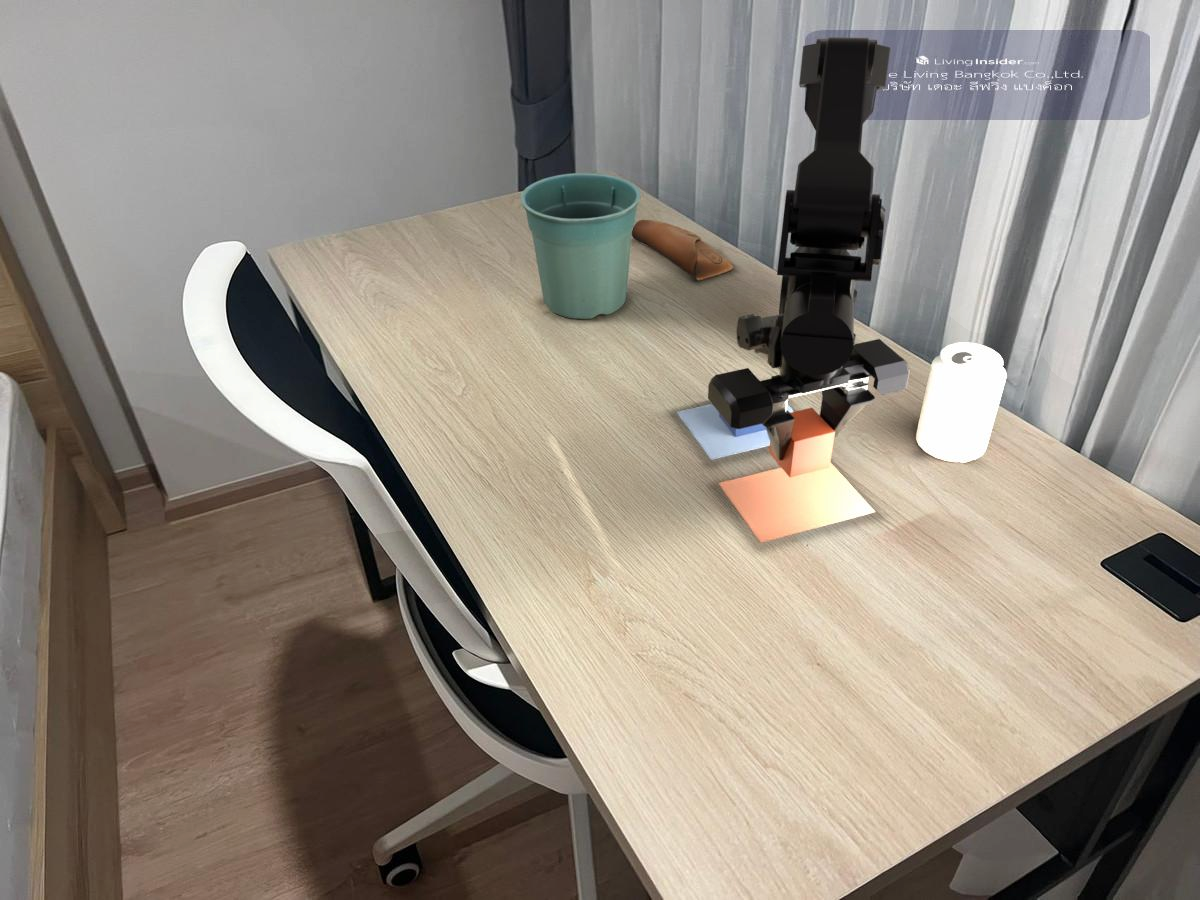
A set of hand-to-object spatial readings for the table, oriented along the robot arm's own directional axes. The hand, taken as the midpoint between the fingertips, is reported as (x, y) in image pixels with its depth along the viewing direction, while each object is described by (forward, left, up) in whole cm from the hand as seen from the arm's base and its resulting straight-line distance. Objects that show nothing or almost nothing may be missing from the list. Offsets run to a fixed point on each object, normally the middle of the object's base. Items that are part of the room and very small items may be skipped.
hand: (800, 452), depth 91 cm
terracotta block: (0, 0, -1) cm, 1 cm away
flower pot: (+7, -51, -7) cm, 52 cm away
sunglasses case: (-12, -59, -7) cm, 61 cm away
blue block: (-1, -14, -6) cm, 15 cm away
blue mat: (-1, -14, -6) cm, 15 cm away
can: (-20, -2, -7) cm, 22 cm away
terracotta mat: (0, 0, -6) cm, 6 cm away
